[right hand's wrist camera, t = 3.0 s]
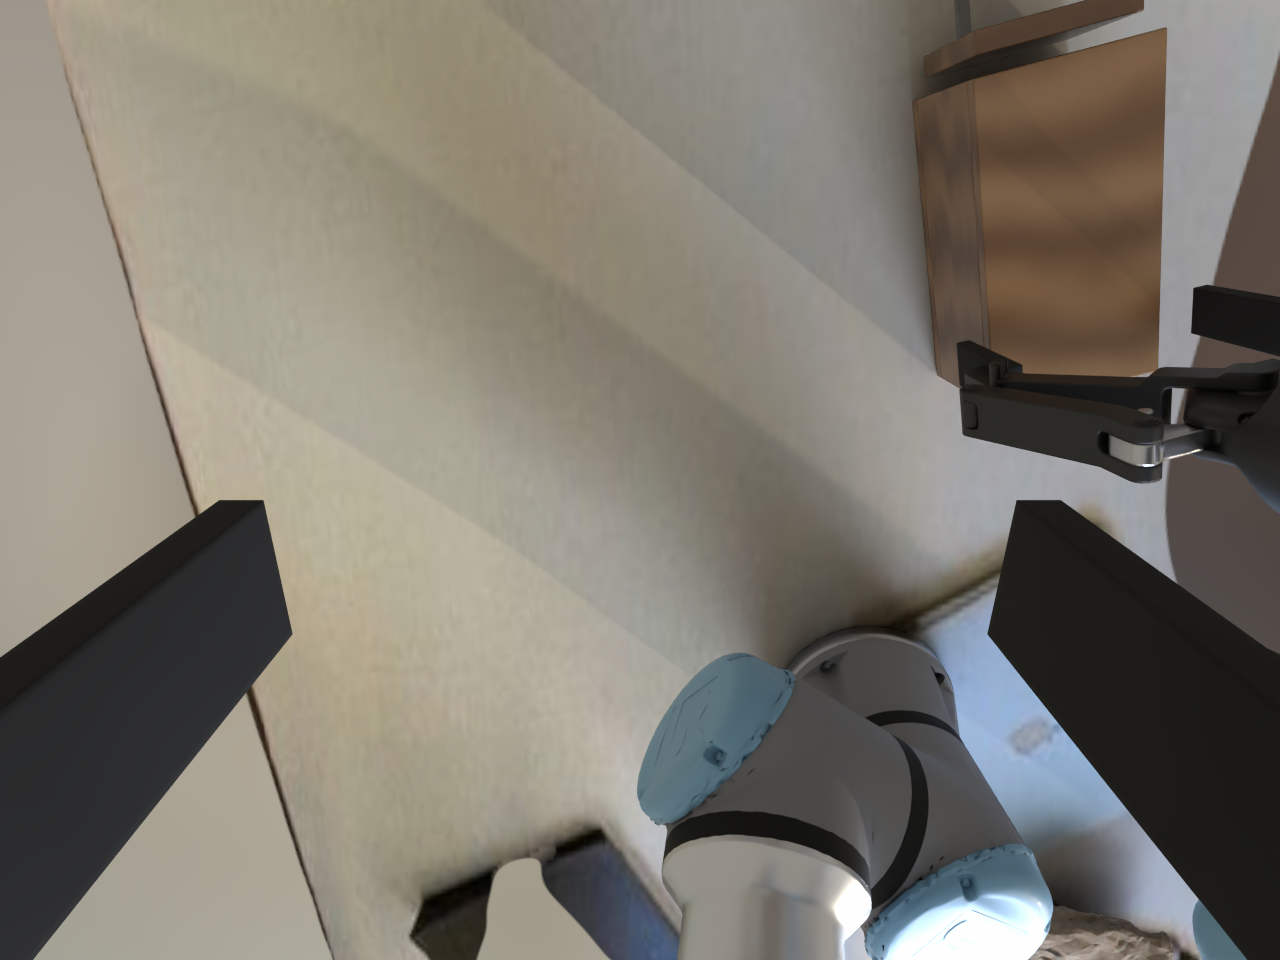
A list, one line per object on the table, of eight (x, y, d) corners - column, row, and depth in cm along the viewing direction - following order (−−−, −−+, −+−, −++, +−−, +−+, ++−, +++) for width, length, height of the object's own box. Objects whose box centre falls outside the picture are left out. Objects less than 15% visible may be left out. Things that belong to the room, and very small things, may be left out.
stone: (1200, 911, 68) (1231, 981, 64) (1120, 974, 77) (1142, 1040, 72) (981, 853, 70) (994, 916, 65) (927, 920, 79) (935, 981, 74)
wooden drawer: (913, -58, 42) (965, -108, 35) (1064, -101, 41) (1147, -161, 34) (946, 330, 50) (993, 350, 44) (1071, 300, 49) (1139, 316, 43)
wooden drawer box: (912, 101, 46) (973, 78, 37) (1068, 59, 45) (1167, 26, 36) (936, 375, 52) (993, 408, 44) (1073, 343, 51) (1158, 371, 43)
